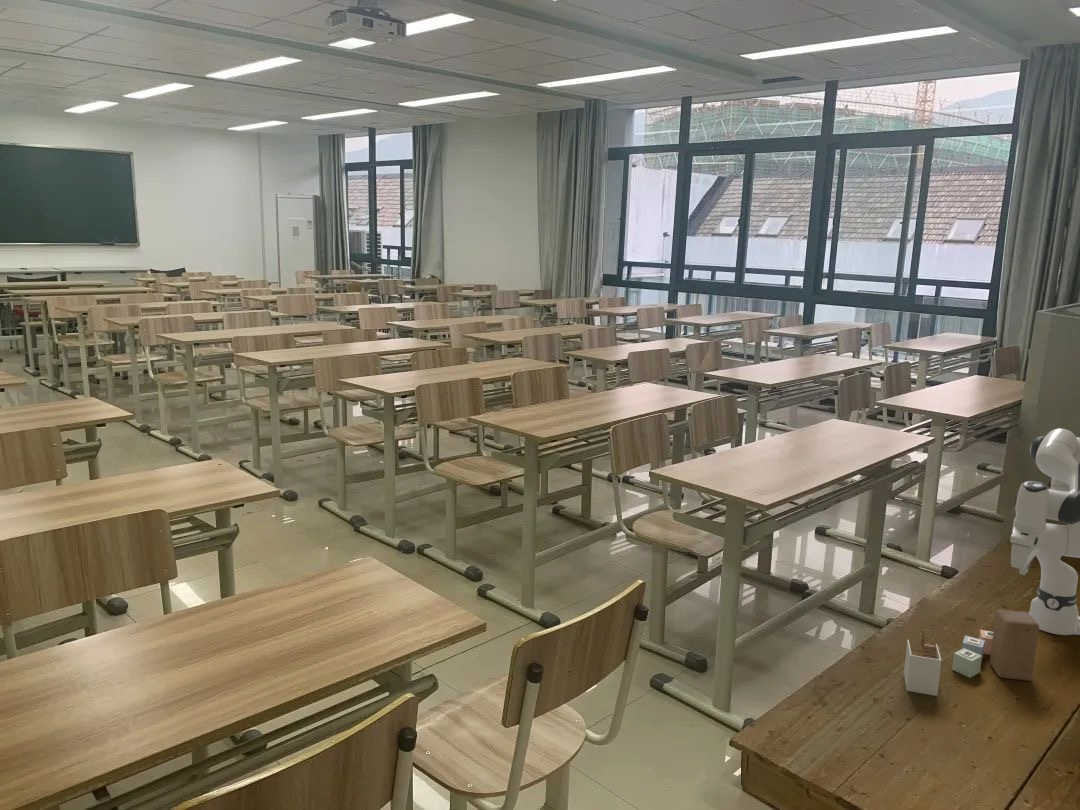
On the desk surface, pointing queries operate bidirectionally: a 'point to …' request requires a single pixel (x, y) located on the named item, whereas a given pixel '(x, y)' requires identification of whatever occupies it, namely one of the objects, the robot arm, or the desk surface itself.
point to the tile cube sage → (966, 662)
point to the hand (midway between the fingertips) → (1023, 573)
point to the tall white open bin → (923, 670)
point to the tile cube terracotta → (986, 640)
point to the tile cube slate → (974, 645)
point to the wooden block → (1014, 644)
